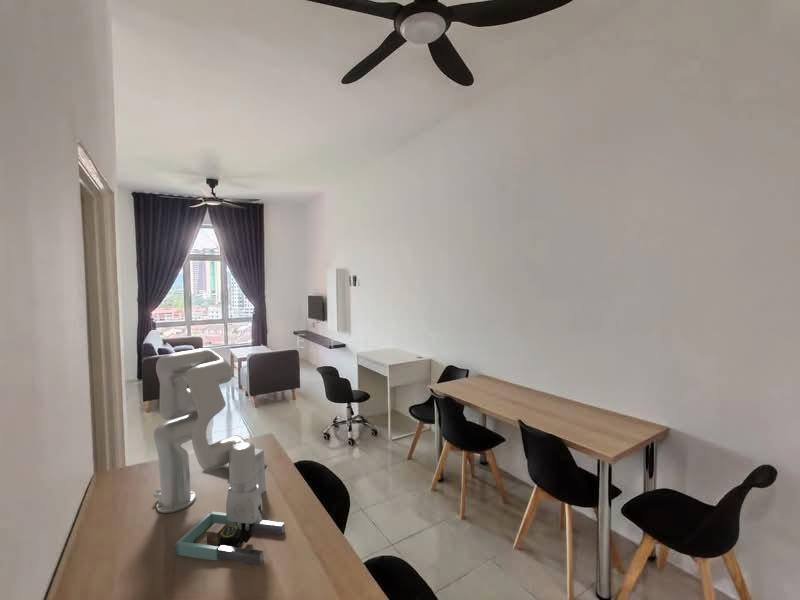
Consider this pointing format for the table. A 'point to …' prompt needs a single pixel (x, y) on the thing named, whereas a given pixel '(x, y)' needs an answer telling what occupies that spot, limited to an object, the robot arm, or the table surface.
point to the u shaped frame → (193, 549)
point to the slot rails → (250, 554)
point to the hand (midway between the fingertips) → (246, 539)
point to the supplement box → (259, 470)
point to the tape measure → (230, 536)
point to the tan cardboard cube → (214, 533)
